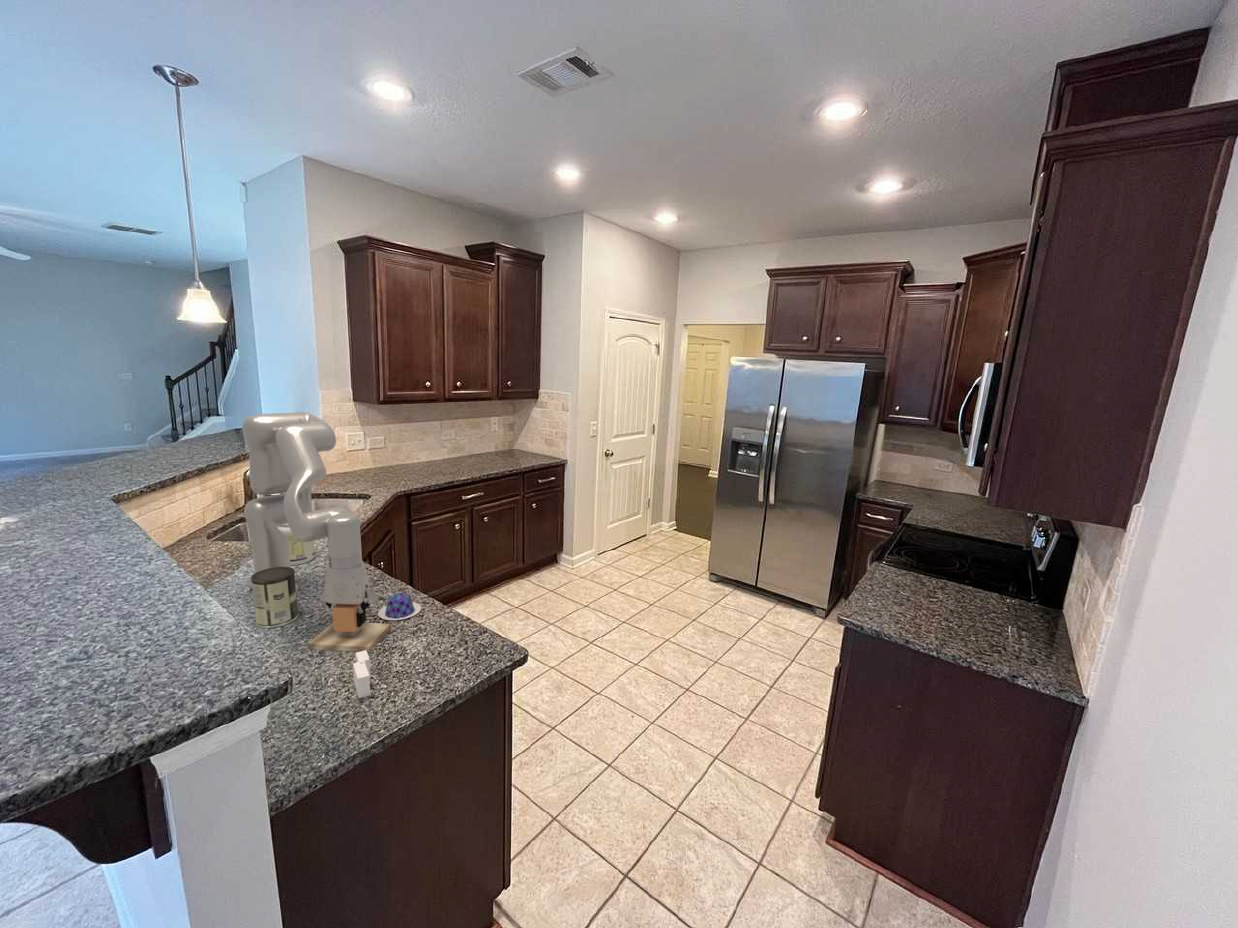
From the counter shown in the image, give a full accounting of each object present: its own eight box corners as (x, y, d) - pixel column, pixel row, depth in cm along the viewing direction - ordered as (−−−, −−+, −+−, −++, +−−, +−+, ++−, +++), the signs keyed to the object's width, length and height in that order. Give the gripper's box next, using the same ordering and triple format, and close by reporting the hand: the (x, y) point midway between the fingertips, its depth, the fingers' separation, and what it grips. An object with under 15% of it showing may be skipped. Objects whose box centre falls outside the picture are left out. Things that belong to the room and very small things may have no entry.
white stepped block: (371, 705, 112) (370, 681, 111) (322, 701, 112) (320, 678, 111) (404, 666, 127) (403, 645, 125) (360, 662, 127) (359, 642, 126)
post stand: (308, 649, 131) (305, 618, 130) (335, 625, 143) (332, 597, 142) (369, 652, 131) (367, 621, 129) (390, 628, 143) (389, 600, 141)
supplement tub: (294, 553, 195) (290, 510, 192) (323, 555, 193) (320, 513, 190) (268, 564, 183) (264, 520, 180) (299, 567, 182) (295, 522, 178)
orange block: (333, 630, 134) (332, 607, 132) (345, 620, 139) (344, 598, 138) (354, 631, 134) (353, 608, 132) (365, 621, 139) (364, 599, 138)
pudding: (371, 622, 146) (370, 605, 145) (386, 603, 158) (386, 587, 157) (414, 622, 147) (413, 605, 146) (426, 603, 159) (425, 588, 158)
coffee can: (281, 608, 152) (276, 564, 149) (306, 615, 149) (303, 569, 146) (246, 624, 142) (241, 577, 140) (273, 631, 139) (268, 583, 136)
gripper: (304, 564, 129) (310, 629, 133) (370, 567, 129) (374, 632, 132) (322, 553, 137) (327, 615, 140) (385, 556, 136) (388, 618, 140)
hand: (350, 623), depth 136 cm, fingers closed on orange block, 5 cm apart
